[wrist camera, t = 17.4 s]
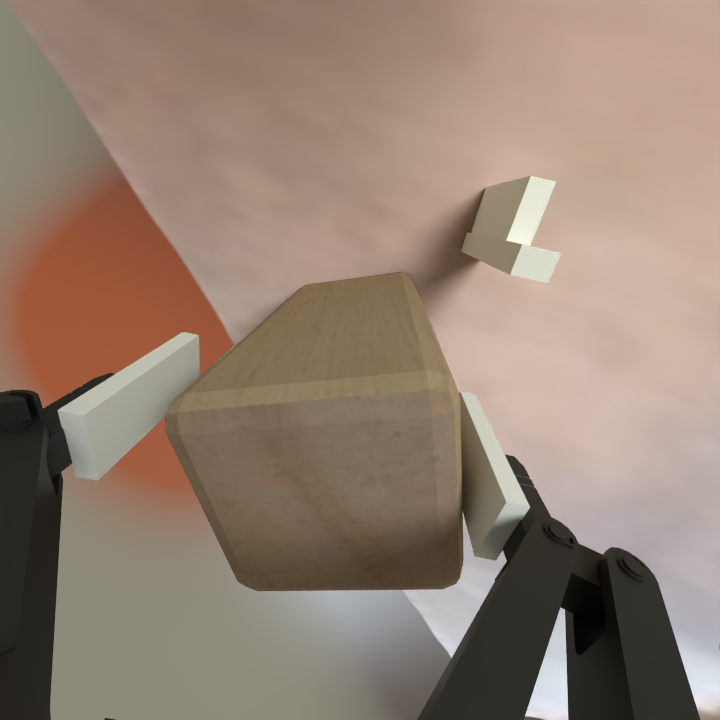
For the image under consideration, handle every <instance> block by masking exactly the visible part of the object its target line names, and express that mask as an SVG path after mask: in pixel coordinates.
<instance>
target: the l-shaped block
mask: <svg viewBox="0 0 720 720" xmlns="http://www.w3.org/2000/svg"><path fill="white" fill-rule="evenodd" d="M555 184H556V182H554V181H550V180H546V179H542V178H537V177H533V176H529V177H525V178H521V179H517V180H513V181H509V182H505V183H501V184H497V185H493V186H489V187H486V189H485V192H484V195H483V198H482V201H481V204H480V207H479V210H478V213H477V216H476V219H475V222H474V225H473V228H472V231H471V233H469V232H467V234H466V237H465V240H464V243H463V247H462V250H461V252H463V253H465V254H467V255H470V256H472V257H474V258H476V259H478V260H480V261H482V262H484V263H486V264H488V265H491V266H493V267H495V268H497V269H499V270H501V271H503V272H505V273H507V274H509V275H513V276H518V277H522V278H527V279H531V280H535V281H540V282H544V283H548V282H549V279H550V277H551V275H552V273H553V271H554V268H555V266H556V264H557V262H558V260H559V257H560V255H561V253H559V252H554V251H550V250H546V249H541V248H537V247H532V246H530V244H531V242H532V239H533V237H534V235H535V232H536V230H537V227H538V225H539V222H540V220H541V218H542V215H543V213H544V210H545V208H546V205H547V203H548V201H549V198H550V196H551V193H552V191H553V188H554V186H555Z"/></svg>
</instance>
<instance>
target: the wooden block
mask: <svg viewBox="0 0 720 720" xmlns="http://www.w3.org/2000/svg"><path fill="white" fill-rule="evenodd" d="M165 427H166V433H167V436H168V438H169V440H170V442H171V444H172V446H173V448H174V450H175V452H176V454H177V456H178V458H179V461H180V463H181V465H182V467H183V469H184V471H185V473H186V475H187V477H188V479H189V481H190V483H191V485H192V488H193V490H194V491H195V494H196V496H197V498H198V500H199V502H200V504H201V506H202V508H203V510H204V512H205V515H206V516H207V519H208V521H209V523H210V525H211V527H212V529H213V531H214V533H215V535H216V537H217V539H218V541H219V544H220V546H221V548H222V550H223V552H224V554H225V556H226V558H227V560H228V562H229V564H230V566H231V568H232V570H233V573H234V575H235V577H236V579H237V581H238V582H240V583H241V584H243V585H244V586H246V587H249V588H251V589H254V590H256V591H303V590H305V591H306V590H307V591H308V590H309V591H310V590H311V591H312V590H413V589H444V588H447V587H449V586H452V585H454V584H456V583H457V582H458V580H459V579H460V575H461V570H462V565H463V515H462V467H461V420H460V394H459V392H458V390H457V387H456V385H455V382H454V380H453V377H452V375H451V372H450V370H449V367H448V365H447V362H446V360H445V357H444V355H443V353H442V350H441V348H440V345H439V343H438V340H437V338H436V335H435V333H434V330H433V328H432V325H431V323H430V320H429V318H428V315H427V313H426V311H425V308H424V306H423V303H422V301H421V298H420V296H419V293H418V291H417V288H416V286H415V283H414V281H413V279H412V277H411V276H410V274H407V273H403V272H397V273H390V274H382V275H375V276H368V277H360V278H353V279H346V280H338V281H331V282H323V283H316V284H309V285H305V286H304V287H302V288H300V289H299V290H298V291H297V292H296V293H294V294H293V295H292V296H291V297H290V298H289V299H288V300H286V301H285V302H284V303H283V304H282V305H281V306H280V307H279V308H277V309H276V310H275V311H274V312H273V313H272V314H271V315H269V316H268V317H267V318H266V319H265V320H264V321H263V322H262V323H260V324H259V325H258V326H257V327H256V328H255V329H254V330H252V331H251V332H250V333H249V334H248V335H247V336H246V337H245V338H243V339H242V340H241V341H240V342H239V343H238V344H237V345H235V346H234V347H233V348H232V349H231V350H230V351H229V352H227V353H226V354H225V355H224V356H223V357H222V358H221V359H220V360H218V361H217V362H216V363H215V364H214V365H213V366H212V367H211V368H209V369H208V370H207V371H206V372H205V373H204V374H203V375H201V376H200V377H199V378H198V379H197V380H196V381H195V382H193V383H192V384H191V385H190V386H189V387H188V388H187V389H186V390H184V391H183V392H182V393H181V394H180V395H179V396H178V397H176V398H175V399H174V400H173V401H172V402H171V403H170V405H169V407H168V409H167V412H166V414H165Z"/></svg>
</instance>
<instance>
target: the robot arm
mask: <svg viewBox="0 0 720 720" xmlns="http://www.w3.org/2000/svg"><path fill="white" fill-rule="evenodd" d="M199 369H200V367H199V335H195V334H191V333H186V332H183V333H181V334H179V335H178V336H176V337H174V338H173V339H171V340H169V341H168V342H166V343H165V344H163V345H162V346H160V347H158V348H157V349H155V350H153V351H152V352H150V353H148V354H147V355H145V356H144V357H142V358H141V359H139V360H137V361H136V362H134V363H132V364H131V365H129V366H128V367H126V368H124V369H123V370H122V371H120V372H118V373H116V374H113V373H109V374H106V375H103V376H100V377H97V378H94V379H92V380H91V381H89V382H87V383H86V384H84V385H83V386H82V387H79V388H77V389H76V390H74V391H73V392H72V393H69V394H67V395H65V396H64V397H62V398H60V399H59V400H57V401H55V402H54V403H52V404H50V405H49V406H47V407H46V408H44V409H43V408H42V405H41V401H40V398H39V395H38V394H37V393H35V392H33V391H28V390H11V391H6V392H1V393H0V720H51V717H50V692H51V677H52V658H53V643H54V626H55V608H56V591H57V574H58V556H59V540H60V523H61V505H62V488H63V478H62V474H61V472H62V471H63V470H64V469H65V468H67V467H68V466H69V465H70V464H72V468H73V472H74V475H75V477H79V478H85V479H89V480H94V481H98V480H99V479H100V478H101V477H102V476H103V475H104V474H105V473H107V472H108V471H109V470H110V469H111V468H112V467H113V466H114V465H115V464H116V463H117V462H118V461H119V460H120V459H121V458H122V457H123V456H124V455H125V454H126V453H127V452H129V451H130V449H132V448H133V447H134V446H135V445H136V444H137V443H138V442H139V441H140V440H141V439H142V438H143V437H144V436H145V435H146V434H147V433H148V432H149V431H150V430H151V429H153V428H154V427H155V426H156V425H157V424H158V423H159V422H160V421H161V420H162V419H163V418H164V417H165V414H166V412H167V409H168V407H169V405H170V403H171V402H172V401H173V400H174V399H175V398H176V397H178V396H179V395H180V394H181V393H182V392H183V391H184V390H186V389H187V388H188V387H189V386H190V385H191V384H192V383H193V382H195V381H196V380H197V379H198V378H199V377H200V370H199ZM459 394H460V420H461V467H462V509H463V513H464V517H465V521H466V525H467V529H468V533H469V536H470V540H471V544H472V548H473V552H474V556H476V557H481V558H486V559H491V560H497V558H498V556H499V555H500V553H501V552H502V550H503V551H504V554H505V557H506V560H507V562H506V564H505V565H504V567H503V568H502V570H501V571H500V573H499V574H498V576H497V577H496V579H495V582H494V584H493V586H492V588H491V590H490V591H489V593H488V595H487V597H486V598H485V600H484V602H483V604H482V606H481V607H480V609H479V611H478V613H477V614H476V616H475V618H474V620H473V622H472V623H471V625H470V627H469V629H468V630H467V632H466V634H465V636H464V637H463V639H462V641H461V643H460V645H459V646H458V648H457V650H456V652H455V653H454V655H453V657H452V659H451V661H450V662H449V664H448V666H447V668H446V669H445V671H444V673H443V675H442V677H441V678H440V680H439V682H438V684H437V686H436V687H435V689H434V691H433V693H432V694H431V696H430V698H429V700H428V701H427V703H426V705H425V707H424V709H423V710H422V712H421V714H420V716H419V717H418V719H417V720H524V717H525V714H526V711H527V708H528V705H529V702H530V699H531V695H532V692H533V689H534V686H535V683H536V680H537V677H538V674H539V671H540V668H541V665H542V662H543V659H544V656H545V652H546V649H547V646H548V643H549V640H550V637H551V634H552V631H553V628H554V625H555V622H556V619H557V616H558V613H559V609H560V607H561V608H563V609H565V620H566V652H567V684H568V716H569V720H700V717H699V714H698V711H697V708H696V704H695V701H694V698H693V695H692V691H691V688H690V685H689V682H688V678H687V675H686V672H685V669H684V665H683V662H682V659H681V656H680V653H679V649H678V646H677V643H676V640H675V636H674V633H673V630H672V627H671V623H670V620H669V617H668V614H667V610H666V607H665V604H664V601H663V597H662V594H661V591H660V588H659V585H658V582H657V580H656V578H655V576H654V574H653V573H652V572H651V571H650V569H649V568H648V567H647V566H646V565H645V564H644V563H643V562H642V561H640V560H639V559H638V558H637V557H635V556H634V555H632V554H631V553H629V552H627V551H625V550H623V549H620V548H614V547H611V548H609V549H608V550H607V551H606V552H605V553H604V554H603V555H602V554H600V553H598V552H596V551H593V550H591V549H589V548H587V547H585V546H583V545H581V544H579V543H578V541H577V539H576V537H575V536H574V535H573V533H572V532H571V531H570V530H569V529H568V528H567V527H566V526H565V525H563V524H562V523H561V522H559V521H557V520H556V519H554V518H551V516H550V514H549V512H548V510H547V509H546V507H545V505H544V503H543V501H542V499H541V497H540V496H539V494H538V492H537V490H536V488H534V484H533V483H532V481H531V479H529V475H528V473H527V471H526V470H525V468H524V466H523V465H522V464H521V463H520V462H519V461H518V460H517V459H516V458H515V457H514V456H509V455H505V454H504V452H503V450H502V448H501V446H500V444H499V442H498V440H497V438H496V436H495V434H494V432H493V430H492V428H491V426H490V424H489V422H488V420H487V417H486V415H485V413H484V411H483V409H482V407H481V405H480V403H479V401H478V399H477V397H476V395H475V394H471V393H467V392H462V391H460V393H459ZM105 720H114V719H108V718H105Z"/></svg>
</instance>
